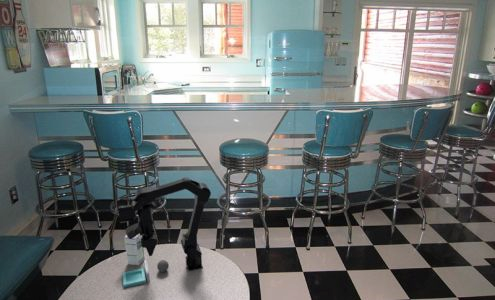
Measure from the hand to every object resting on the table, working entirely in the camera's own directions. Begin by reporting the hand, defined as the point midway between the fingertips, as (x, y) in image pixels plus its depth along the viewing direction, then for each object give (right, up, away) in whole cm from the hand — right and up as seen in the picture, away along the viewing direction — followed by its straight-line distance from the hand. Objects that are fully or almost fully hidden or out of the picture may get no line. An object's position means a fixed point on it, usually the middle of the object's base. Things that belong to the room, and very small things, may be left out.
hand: (149, 250), depth 150 cm
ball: (+5, -11, +5) cm, 13 cm away
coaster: (-6, -12, 0) cm, 14 cm away
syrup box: (-10, -9, +12) cm, 18 cm away
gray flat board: (-2, -11, +3) cm, 12 cm away
